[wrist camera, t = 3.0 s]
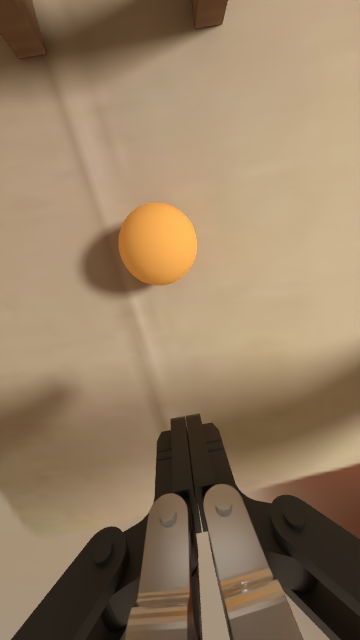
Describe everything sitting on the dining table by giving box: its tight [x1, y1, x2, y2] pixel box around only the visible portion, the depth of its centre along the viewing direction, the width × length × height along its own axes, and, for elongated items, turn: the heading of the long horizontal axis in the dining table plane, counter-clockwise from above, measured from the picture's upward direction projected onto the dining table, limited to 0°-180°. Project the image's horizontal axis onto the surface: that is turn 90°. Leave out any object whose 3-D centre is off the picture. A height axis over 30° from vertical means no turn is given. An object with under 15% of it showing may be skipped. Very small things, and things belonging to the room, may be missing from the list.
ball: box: [118, 203, 197, 285], centre depth 17 cm, size 6×6×6 cm
